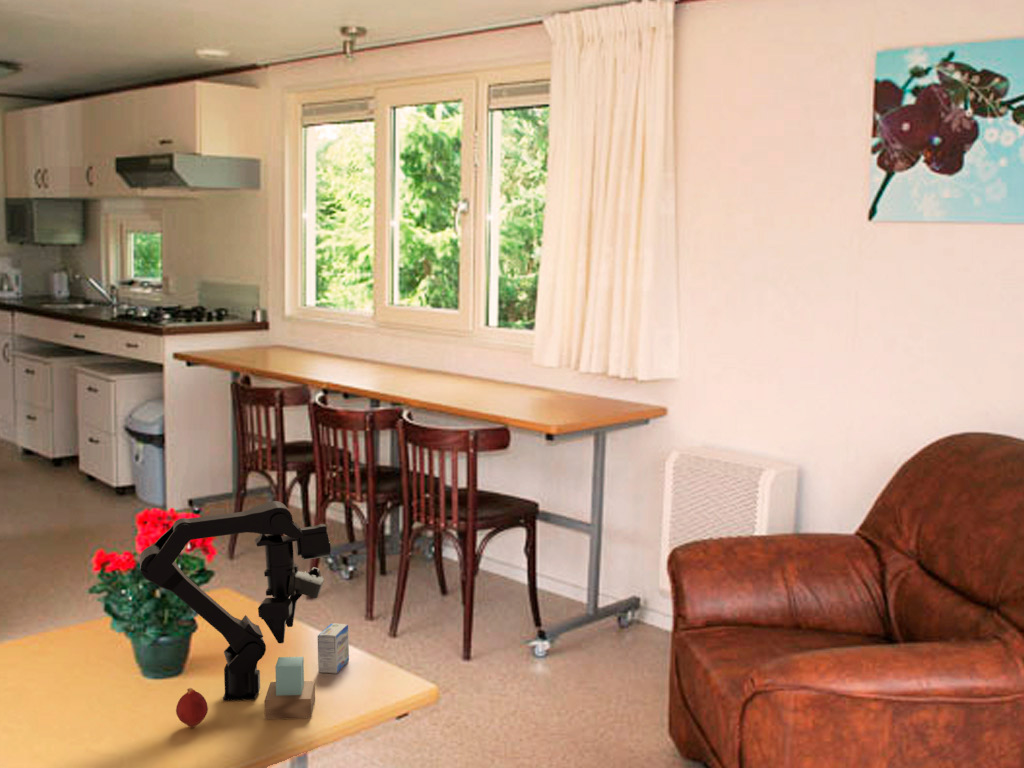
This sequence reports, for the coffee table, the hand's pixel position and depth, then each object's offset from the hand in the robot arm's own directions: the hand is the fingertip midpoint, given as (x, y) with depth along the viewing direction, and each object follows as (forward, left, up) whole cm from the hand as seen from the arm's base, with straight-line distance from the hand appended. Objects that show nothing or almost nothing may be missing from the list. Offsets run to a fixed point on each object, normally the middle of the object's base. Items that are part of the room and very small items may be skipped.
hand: (285, 634), depth 234 cm
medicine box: (+9, +11, -12) cm, 19 cm away
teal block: (+2, -11, -8) cm, 13 cm away
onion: (-16, -18, -12) cm, 27 cm away
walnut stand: (+2, -11, -12) cm, 16 cm away
